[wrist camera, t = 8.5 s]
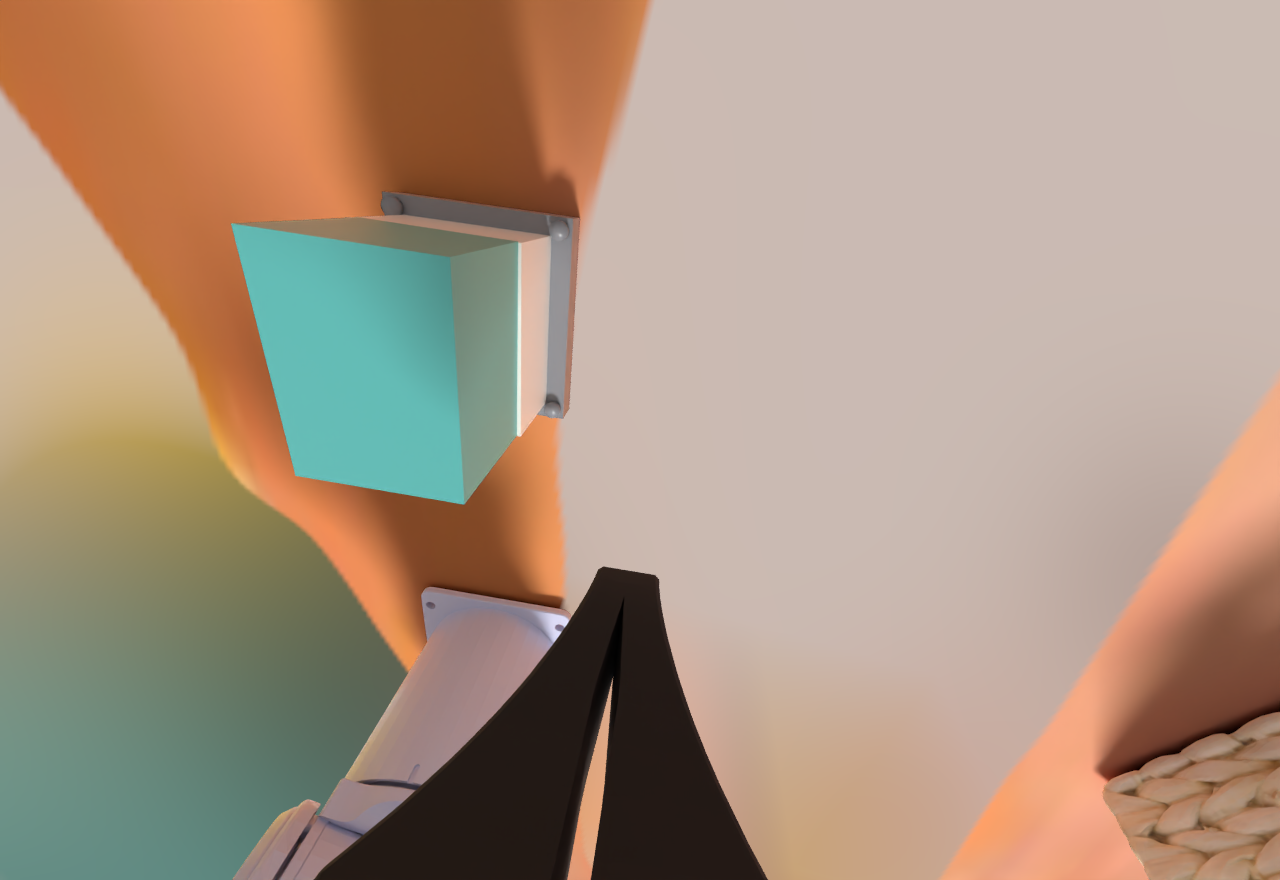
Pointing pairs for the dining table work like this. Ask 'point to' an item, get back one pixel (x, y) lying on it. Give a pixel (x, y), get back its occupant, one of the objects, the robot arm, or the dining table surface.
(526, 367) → the cream brick
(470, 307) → the teal brick
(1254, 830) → the storage basket
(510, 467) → the dining table surface
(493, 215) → the baseplate
